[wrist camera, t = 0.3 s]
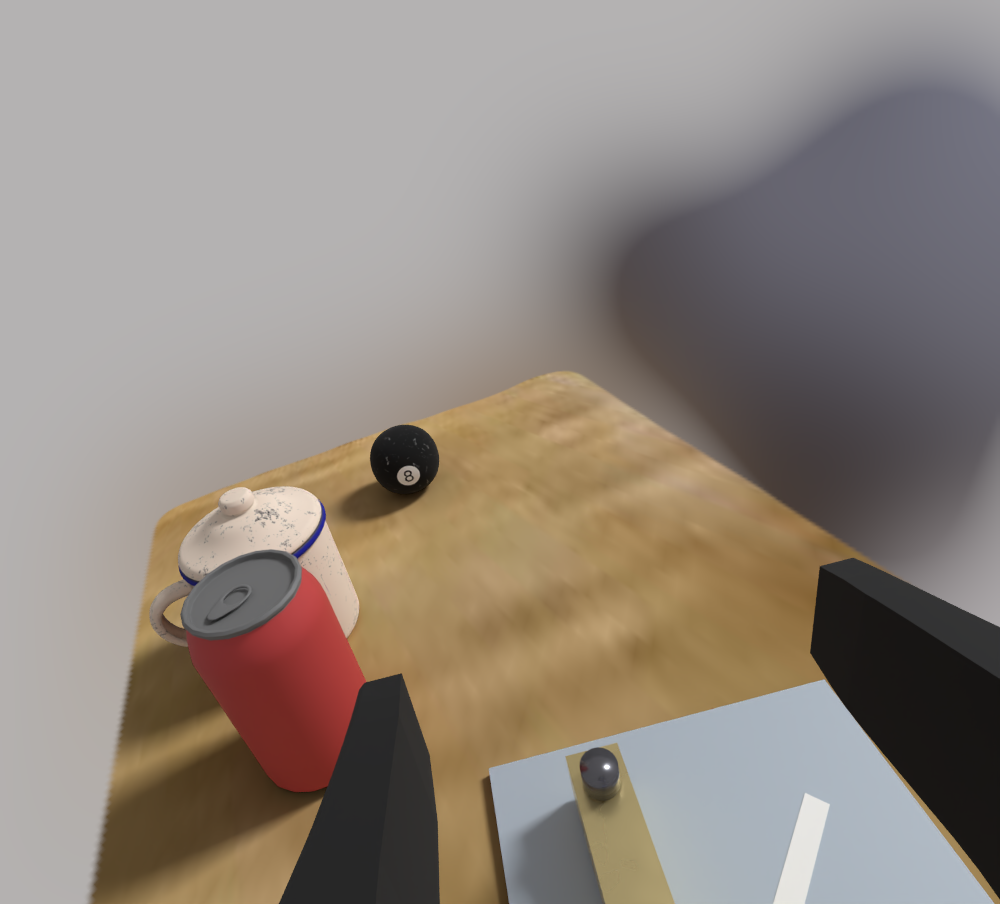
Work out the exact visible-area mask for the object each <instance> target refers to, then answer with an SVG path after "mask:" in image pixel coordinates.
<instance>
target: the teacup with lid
mask: <svg viewBox="0 0 1000 904" xmlns="http://www.w3.org/2000/svg"><path fill="white" fill-rule="evenodd" d="M218 505H219V507H218V508H216V509H215V510H213V511H212V512H210V513H209V514H208V515H206V516H205V517H204V518H202V519H201V520H200V521H199V522H198V523H197V524H196V525H195V526H194V527H193V528H192V529H191V530H190V531H189V533H188V534H187V535H186V537H185V539H184V540H183V542H182V544H181V547H180V550H179V555H178V564H179V571H180V574H181V576H182V577H183V580H181V581H178V582H176V583H174V584H172V585H170V586H168V587H167V588H165V589H164V590H162V591H161V592H160V593H159V594H158V595H157V596H156V598H155V599H154V601H153V603H152V605H151V608H150V622H151V625H152V627H153V629H154V630H155V631H156V633H157V634H158V635H160V636H161V637H162V638H163V639H165V640H167V641H168V642H171V643H173V644H176V645H179V646H185V647H188V644H187V637H186V629H183V628H180V627H177V626H175V625H173V624H172V623H170V622H169V621H168V620H167V619H166V618H165V617H164V615H163V612H164V611H165V609H166V608H167V607H168V606H169V605H170V604H171V603H173V602H175V601H176V600H178V599H180V598H183V597H185V596H187V595H189V594H190V592H191V591H192V589H193V588H194V586H195V585H196V584H197V583H199V582H200V581H201V580H202V579H203V578H204V577H205V576H206V575H207V574H208V573H210V572H211V571H213V570H214V569H216V568H217V567H219V566H220V565H221V564H223V563H225V562H227V561H229V560H232V559H234V558H236V557H238V556H240V555H244V554H247V553H250V552H254V551H260V550H269V549H273V550H280V551H287V552H288V553H290V554H292V555H293V556H295V557H296V558H297V559H298V561H299V563H300V565H301V566H302V567H303V568H305V569H306V570H307V571H308V572H310V573H311V574H312V575H313V576H314V577H315V578H316V579H317V580H318V581H319V583H320V584H321V586H322V588H323V589H324V591H325V593H326V595H327V597H328V599H329V601H330V603H331V606H332V608H333V610H334V612H335V614H336V617H337V619H338V621H339V623H340V625H341V628H342V630H343V632H344V634H345V636H346V639H347V638H348V636H349V635H350V633H351V632H352V630H353V628H354V626H355V624H356V622H357V618H358V614H359V601H358V597H357V595H356V592H355V590H354V587H353V585H352V583H351V580H350V578H349V576H348V573H347V571H346V568H345V566H344V564H343V561H342V559H341V557H340V554H339V552H338V549H337V547H336V545H335V542H334V540H333V538H332V535H331V533H330V530H329V528H328V526H327V523H326V521H325V519H326V513H325V509H324V506H323V505H322V503H321V502H320V501H319V500H318V499H317V498H316V497H315V496H314V495H313V494H311V493H310V492H308V491H306V490H303V489H300V488H296V487H272V488H266V489H261V490H257V491H254V492H251V491H250V490H249V489H247V488H244V487H239V488H234V489H232V490H229V491H228V492H226V493H224V494H223V495H222V496H221V498H220V499H219V503H218Z"/></svg>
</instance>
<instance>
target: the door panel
mask: <svg viewBox="0 0 1000 904" xmlns="http://www.w3.org/2000/svg"><path fill="white" fill-rule="evenodd" d="M613 743H617V744H618V746H619V749H620V752H621V755H622V758H623V760H624V763H625V766H626V769H627V772H628V774H629V777H630V780H631V783H632V785H633V788H634V791H635V794H636V797H637V799H638V802H639V805H640V808H641V811H642V813H643V816H644V819H645V822H646V824H647V827H648V830H649V833H650V836H651V838H652V841H653V844H654V847H655V850H656V852H657V855H658V858H659V861H660V863H661V866H662V869H663V872H664V875H665V877H666V880H667V883H668V886H669V889H670V891H671V894H672V897H673V900H674V902H675V904H994V903H993V901H992V900H991V899H990V897H989V896H988V895H987V893H986V892H985V891H984V889H983V888H982V887H981V885H980V884H979V883H978V881H977V880H976V879H975V877H974V876H973V875H972V874H971V872H970V871H969V870H968V868H967V867H966V866H965V864H964V863H963V862H962V860H961V859H960V858H959V856H958V855H957V854H956V852H955V851H954V850H953V848H952V847H951V846H950V845H949V843H948V842H947V841H946V839H945V838H944V837H943V835H942V834H941V833H940V831H939V830H938V829H937V827H936V826H935V825H934V823H933V822H932V821H931V819H930V818H929V817H928V816H927V814H926V813H925V812H924V810H923V809H922V808H921V806H920V805H919V804H918V802H917V801H916V800H915V798H914V797H913V796H912V794H911V793H910V792H909V791H908V789H907V788H906V787H905V785H904V784H903V783H902V781H901V780H900V779H899V777H898V776H897V775H896V773H895V772H894V771H893V769H892V768H891V767H890V765H889V764H888V763H887V762H886V760H885V759H884V758H883V756H882V755H881V754H880V752H879V751H878V750H877V748H876V747H875V746H874V744H873V743H872V742H871V740H870V739H869V738H868V736H867V735H866V734H865V733H864V731H863V730H862V729H861V727H860V726H859V725H858V723H857V722H856V721H855V719H854V718H853V717H852V715H851V714H850V713H849V711H848V710H847V709H846V707H845V706H844V705H843V704H842V702H841V701H840V700H839V698H838V697H837V696H836V694H835V693H834V692H833V690H832V689H831V688H830V686H829V685H828V684H827V682H826V681H825V680H820V681H817V682H813V683H809V684H805V685H802V686H798V687H794V688H790V689H786V690H783V691H779V692H775V693H771V694H768V695H764V696H760V697H756V698H752V699H749V700H745V701H741V702H737V703H734V704H730V705H726V706H722V707H719V708H715V709H711V710H707V711H703V712H700V713H696V714H692V715H688V716H685V717H681V718H677V719H673V720H670V721H666V722H662V723H658V724H654V725H651V726H647V727H643V728H639V729H636V730H632V731H628V732H624V733H621V734H617V735H613V736H609V737H605V738H602V739H598V740H594V741H590V742H587V743H583V744H579V745H575V746H572V747H568V748H564V749H560V750H556V751H553V752H549V753H545V754H541V755H538V756H534V757H530V758H526V759H523V760H519V761H515V762H511V763H507V764H504V765H500V766H496V767H492V768H489V774H490V780H491V787H492V793H493V800H494V807H495V813H496V820H497V826H498V833H499V840H500V846H501V853H502V859H503V866H504V873H505V879H506V886H507V893H508V899H509V904H603V903H602V899H601V895H600V892H599V888H598V884H597V880H596V877H595V873H594V869H593V865H592V862H591V858H590V854H589V851H588V847H587V843H586V839H585V836H584V832H583V828H582V825H581V821H580V817H579V813H578V810H577V806H576V802H575V798H574V795H573V791H572V786H571V781H570V776H569V772H568V767H567V762H566V757H565V756H568V755H572V754H576V753H580V752H583V751H587V750H590V749H592V748H597V747H602V746H606V745H610V744H613Z"/></svg>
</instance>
